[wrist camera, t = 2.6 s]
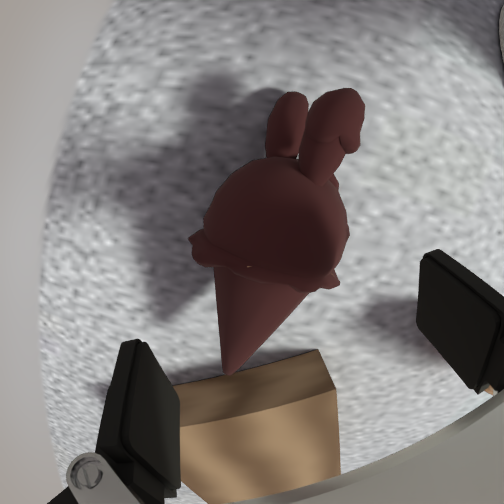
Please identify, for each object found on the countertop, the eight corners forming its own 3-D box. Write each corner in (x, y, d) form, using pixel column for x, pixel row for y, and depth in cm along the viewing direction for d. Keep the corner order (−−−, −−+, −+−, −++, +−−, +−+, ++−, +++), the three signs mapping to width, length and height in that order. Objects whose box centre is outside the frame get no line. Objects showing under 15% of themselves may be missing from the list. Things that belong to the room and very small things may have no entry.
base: (318, 349, 22) (336, 388, 18) (330, 453, 30) (340, 481, 26) (138, 391, 22) (132, 432, 18) (212, 480, 29) (214, 508, 26)
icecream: (313, 410, 15) (431, 127, 11) (177, 426, 12) (291, 37, 8) (260, 338, 21) (335, 116, 17) (151, 334, 18) (219, 68, 14)
